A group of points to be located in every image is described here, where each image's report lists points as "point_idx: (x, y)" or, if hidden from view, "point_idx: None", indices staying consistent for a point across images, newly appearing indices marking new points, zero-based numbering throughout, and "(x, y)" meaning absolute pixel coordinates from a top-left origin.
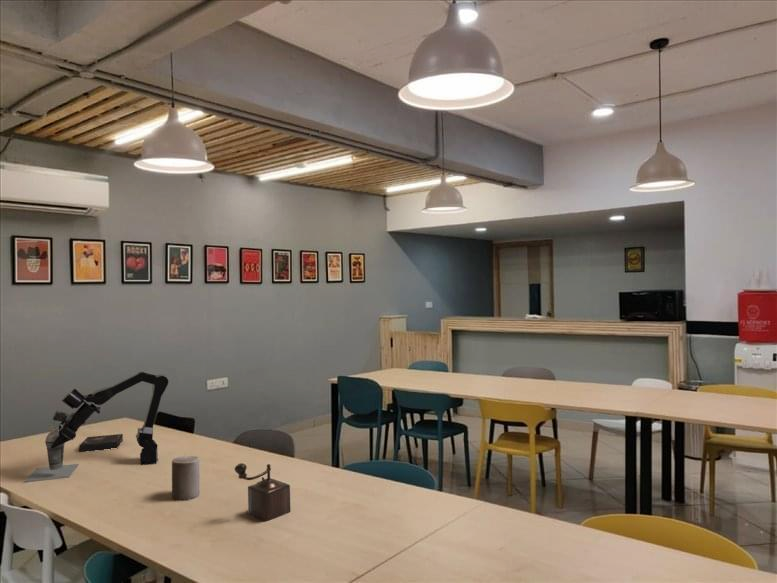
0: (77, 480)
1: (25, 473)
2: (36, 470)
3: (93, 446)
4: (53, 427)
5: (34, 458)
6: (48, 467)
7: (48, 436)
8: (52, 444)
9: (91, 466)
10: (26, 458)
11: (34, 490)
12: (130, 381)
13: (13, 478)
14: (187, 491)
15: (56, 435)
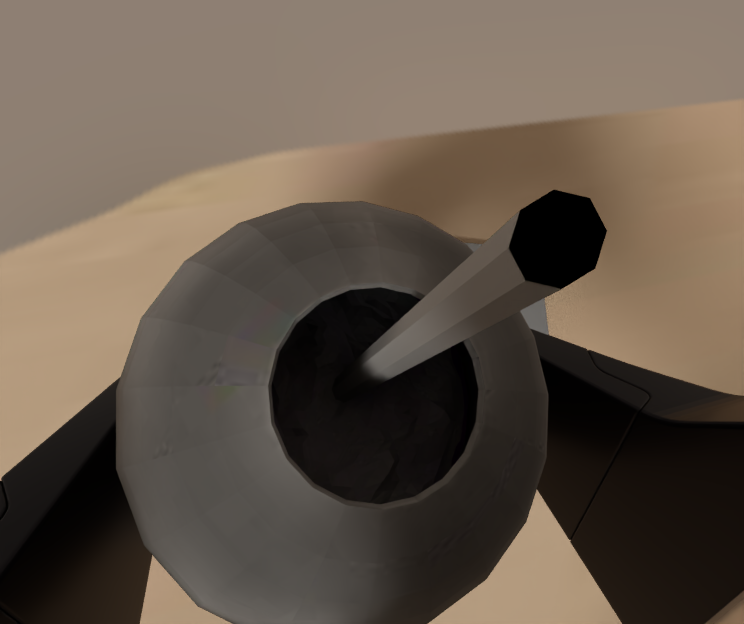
0: (148, 593)
1: (478, 208)
2: None
3: None
4: (475, 267)
5: (728, 207)
6: (533, 308)
7: (214, 243)
8: (104, 390)
9: (501, 596)
10: (733, 174)
11: (49, 322)
12: None
13: (404, 166)
14: None
15: (133, 482)
